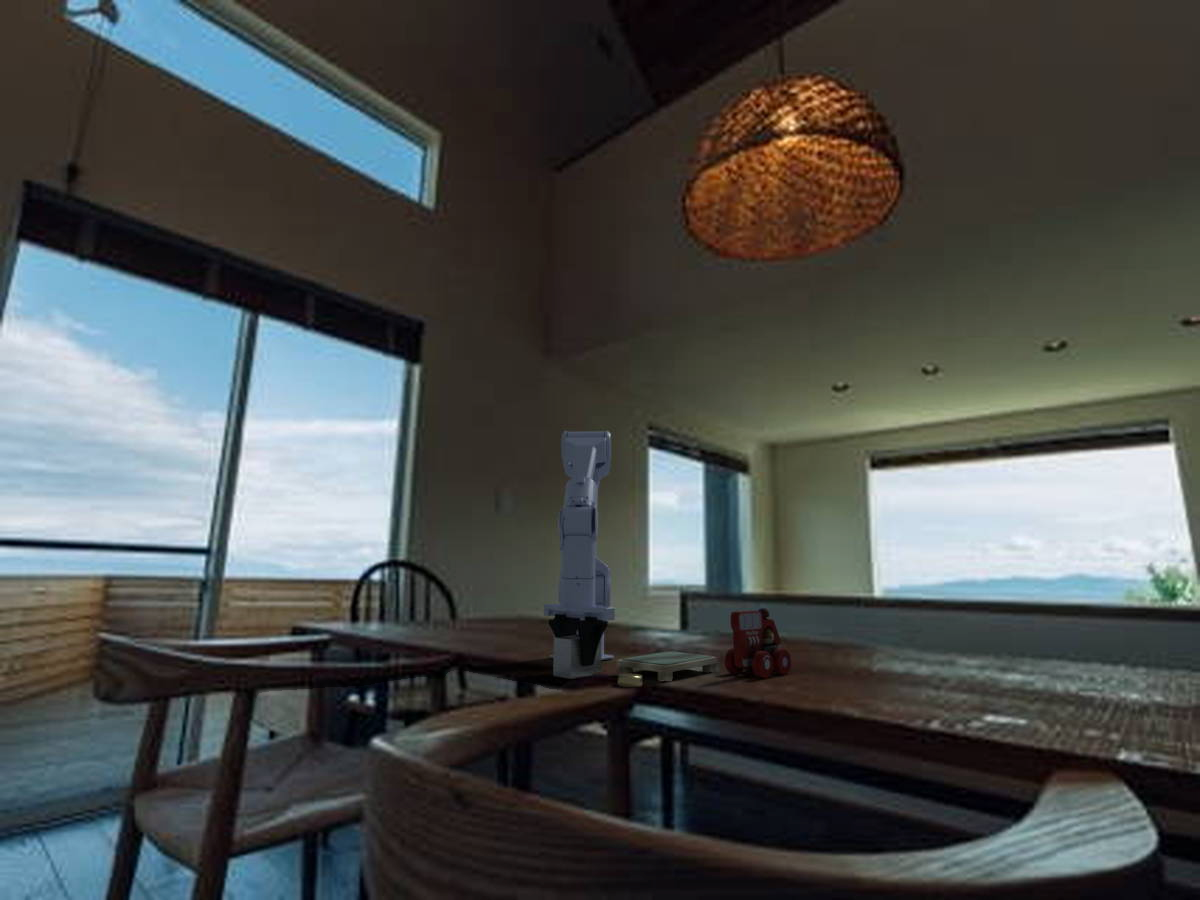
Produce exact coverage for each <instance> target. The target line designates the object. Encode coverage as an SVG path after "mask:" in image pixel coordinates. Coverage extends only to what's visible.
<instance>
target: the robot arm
mask: <svg viewBox="0 0 1200 900" xmlns="http://www.w3.org/2000/svg"><path fill="white" fill-rule="evenodd" d="M561 434H562V435H561V442H560V443H561V444H560V445H561V446H560V448H561V459H562V465H563V470H564V473H565V475H566V476H567V477H569V478H570V479H569V480H568V481H567V483H566V486H565V490H564V491H565V492H564V501H563V507H562V508H563V509H560V510H559V512H558V519H557V520H558V521H557V528H558V530H557V531H558V536H559V550H560V551H561V555H560V557H561V558H560V559H561V561H560V570H559V571H560V572H559V573H560V574H559V575H560V576H559V579H558V592H557V593H558V603H544V604H543V616H545V617H551V616H552V617H553V619H548V625H549V627H550V629H551V631H552V632H553V638H554V637H563V636H572V635H576V634H579V639H580V649H581V663H582V666H591V665H594V660H595V656H596V652H597V648H598V645H599V642H600V639H601V661H603V660H609V659H614V658H615V656H614V655H613V654H605V631H606V629H607V627H608V624H609V621H615V619H616V618H615V611H616V610H615V609H616V608H615V607H610V606H611V605H612V604H611V603H612V579H611V569H610V568H609V565H608V564H606V563H604V562H603V561H602V560H601V559H600V558H598V550H597V549H598V546H597V545H598V535H599V512H598V503H599V502H598V498H599V497H598V496H599V493H598V492H599V488H600V483H601V480H602V479H604V478H605V477H607V476H609V475H610V470H611V459H612V435H611V432H610V431H609V430H605V431H599V430H598V431H568V430H565V431H564V432H563V433H561ZM549 657H550V658H551V659H553V657H554V654H550V656H549Z"/></svg>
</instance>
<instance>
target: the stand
mask: <svg viewBox="0 0 1200 900" xmlns="http://www.w3.org/2000/svg"><path fill="white" fill-rule="evenodd" d="M717 663H718V656H713V655H707V654H706V655H705V654H697V653H690V652H689V653H688V652H681V651H680V652H679V651H672V650H669V651H668V650H667V651H662V652H661V651H660V652H655V653H651V654H650V653H649V654H643V655H638V656H629V657H625V658H620V659H617V660H616V666H618V674H619V673H623V674H629V673H633V669H637V670H642V671H643V670H645V671H650V672H657V681H658V680H664V681H667V680H671V679H674V678H673V676H674V675H673V672H677V671H682V670H687V669H688V670H689V669H693V668H697V667H701V668H702V670H701V671H706V672H705V673H709V672H712V673H716V672H717ZM715 671H716V672H715ZM633 674H634V673H633Z"/></svg>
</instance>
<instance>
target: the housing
mask: <svg viewBox="0 0 1200 900" xmlns="http://www.w3.org/2000/svg"><path fill="white" fill-rule="evenodd" d="M553 655H554V657H553V658H552V660H553V668H552V669H553V670H552V671H553V672H552V673H553V674H552V676H553V677H558V678H564V679H568V680H569V679H570V680H572V679H577V678H578V679H579V678H584V677H591V676H594V675H593V674H594V673H597V672H601V673H602V660H601V639H600V642H599V645H598V648H597V652H596V656H595V660H594V665H591V666H582V663H581V649H580V639H579V634H576V635H572V636H563V637H554V636H553Z"/></svg>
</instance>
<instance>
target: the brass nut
mask: <svg viewBox="0 0 1200 900" xmlns="http://www.w3.org/2000/svg"><path fill="white" fill-rule="evenodd" d="M617 686H619V687H624V688H637V687H639V688H640V687H642V686H643V675H642V674H638V673H633V674H620V675H619V674H618V675H617Z"/></svg>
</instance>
